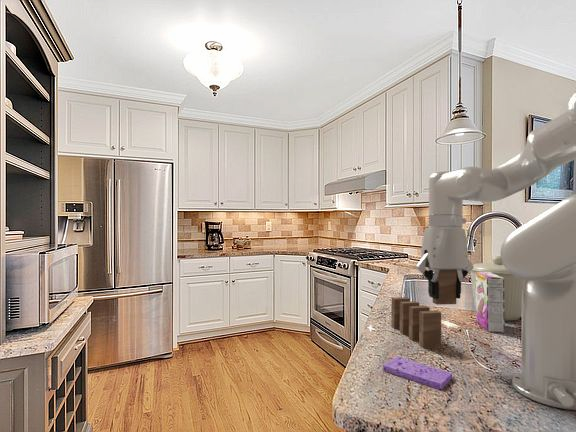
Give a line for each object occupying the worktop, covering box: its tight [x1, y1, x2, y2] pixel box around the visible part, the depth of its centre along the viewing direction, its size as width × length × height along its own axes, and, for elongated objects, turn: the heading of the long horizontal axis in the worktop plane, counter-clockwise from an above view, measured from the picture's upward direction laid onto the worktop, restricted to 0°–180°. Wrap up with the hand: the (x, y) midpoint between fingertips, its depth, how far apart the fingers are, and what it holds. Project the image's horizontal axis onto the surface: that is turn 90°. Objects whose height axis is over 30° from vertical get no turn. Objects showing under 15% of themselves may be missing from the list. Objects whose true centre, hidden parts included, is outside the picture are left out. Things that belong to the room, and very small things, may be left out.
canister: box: [470, 255, 524, 322], centre depth 121 cm, size 18×18×21 cm
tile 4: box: [399, 300, 420, 336], centre depth 102 cm, size 2×5×9 cm, turn 99°
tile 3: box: [408, 305, 431, 342], centre depth 97 cm, size 2×5×9 cm, turn 99°
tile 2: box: [418, 310, 442, 349], centre depth 91 cm, size 2×5×9 cm, turn 99°
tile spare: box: [432, 270, 457, 306], centre depth 85 cm, size 2×5×9 cm, turn 99°
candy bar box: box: [475, 272, 506, 334], centre depth 109 cm, size 11×5×16 cm, turn 168°
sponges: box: [382, 355, 453, 390], centre depth 74 cm, size 7×13×2 cm, turn 46°
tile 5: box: [390, 296, 411, 330], centre depth 108 cm, size 2×5×9 cm, turn 98°
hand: (444, 296), depth 85 cm, fingers closed on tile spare, 4 cm apart
